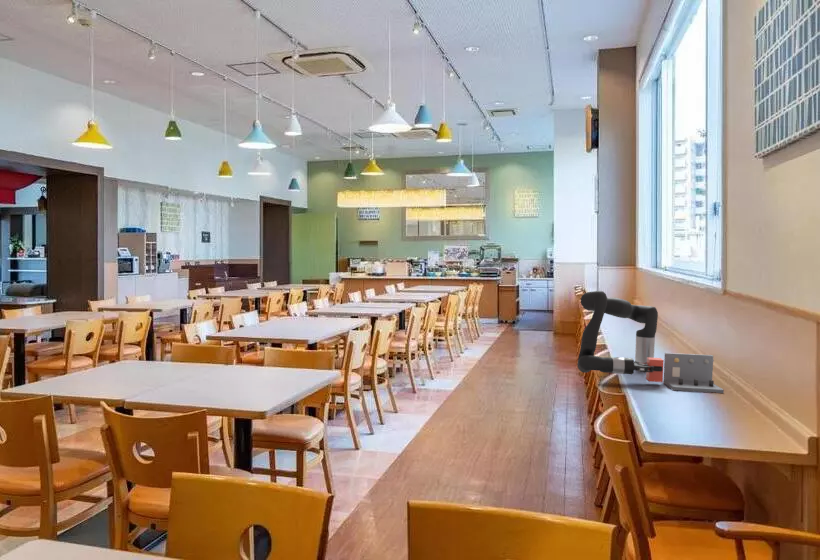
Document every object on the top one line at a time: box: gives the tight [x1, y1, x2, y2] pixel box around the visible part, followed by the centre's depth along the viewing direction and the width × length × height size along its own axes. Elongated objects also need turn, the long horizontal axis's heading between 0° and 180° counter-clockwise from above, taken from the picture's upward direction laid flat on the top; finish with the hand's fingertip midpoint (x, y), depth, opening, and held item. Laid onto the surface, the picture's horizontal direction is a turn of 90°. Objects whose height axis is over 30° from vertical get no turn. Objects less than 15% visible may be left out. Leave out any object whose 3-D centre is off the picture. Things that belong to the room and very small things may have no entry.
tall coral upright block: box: [645, 357, 664, 383], centre depth 288 cm, size 6×6×10 cm
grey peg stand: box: [662, 352, 725, 394], centre depth 284 cm, size 17×21×14 cm
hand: (660, 367), depth 287 cm, fingers closed on tall coral upright block, 6 cm apart
